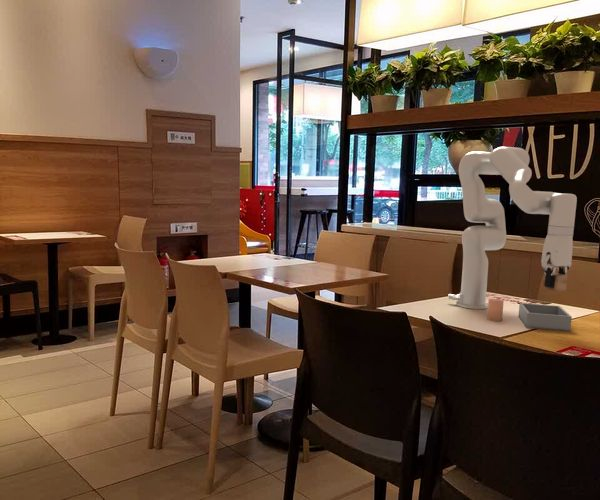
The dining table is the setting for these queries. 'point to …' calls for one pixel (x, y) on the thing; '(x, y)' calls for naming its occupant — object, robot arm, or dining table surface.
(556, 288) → the walnut cube
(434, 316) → the dining table surface
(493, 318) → the terracotta cylinder
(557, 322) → the tote
